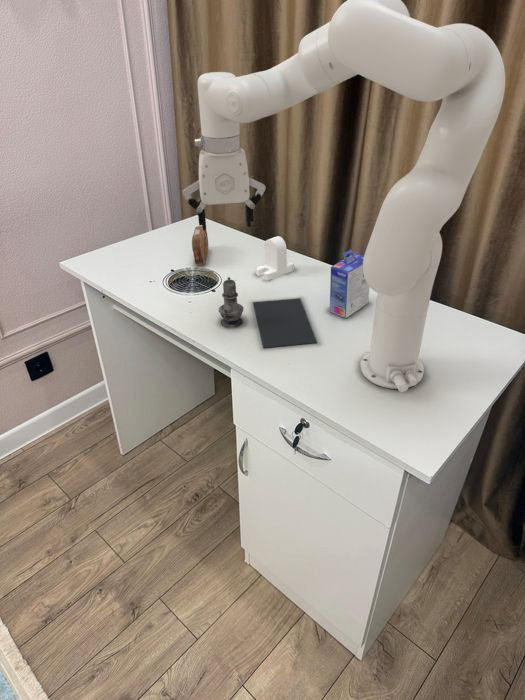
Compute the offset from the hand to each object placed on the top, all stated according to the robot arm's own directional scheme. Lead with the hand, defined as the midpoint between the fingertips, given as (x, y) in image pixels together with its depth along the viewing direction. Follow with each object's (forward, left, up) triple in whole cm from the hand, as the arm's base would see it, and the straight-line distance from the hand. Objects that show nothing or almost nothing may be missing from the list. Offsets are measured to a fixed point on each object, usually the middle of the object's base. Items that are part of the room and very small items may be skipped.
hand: (226, 226), depth 111 cm
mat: (-5, -12, -23) cm, 26 cm away
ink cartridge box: (-1, -29, -23) cm, 37 cm away
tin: (+34, +6, -23) cm, 42 cm away
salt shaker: (-3, 0, -23) cm, 23 cm away
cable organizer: (+21, -14, -23) cm, 34 cm away
